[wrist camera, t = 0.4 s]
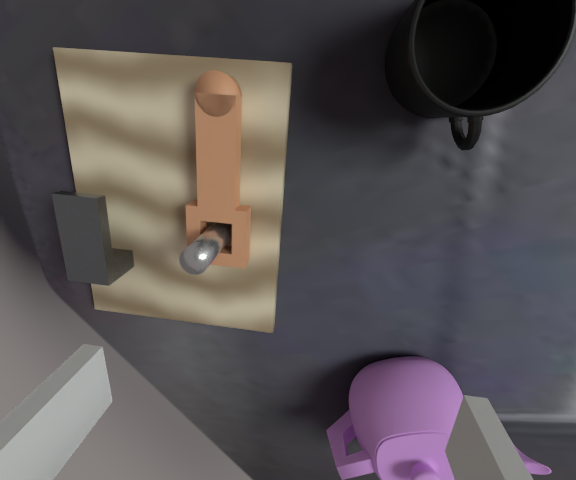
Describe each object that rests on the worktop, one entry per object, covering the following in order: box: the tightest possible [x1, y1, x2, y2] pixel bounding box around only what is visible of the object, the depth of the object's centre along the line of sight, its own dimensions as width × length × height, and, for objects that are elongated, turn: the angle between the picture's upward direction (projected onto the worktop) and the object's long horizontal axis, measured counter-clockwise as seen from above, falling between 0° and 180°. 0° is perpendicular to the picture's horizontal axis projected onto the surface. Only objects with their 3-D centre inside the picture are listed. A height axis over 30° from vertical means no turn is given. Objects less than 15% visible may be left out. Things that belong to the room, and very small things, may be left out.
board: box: [53, 47, 292, 333], centre depth 34 cm, size 28×22×1 cm
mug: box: [385, 0, 576, 150], centre depth 24 cm, size 9×12×9 cm
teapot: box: [326, 356, 552, 480], centre depth 35 cm, size 13×20×11 cm
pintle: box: [179, 222, 232, 275], centre depth 30 cm, size 2×2×8 cm
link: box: [186, 70, 251, 269], centre depth 31 cm, size 18×6×2 cm, turn 176°
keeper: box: [52, 191, 134, 286], centre depth 33 cm, size 9×4×5 cm, turn 176°
